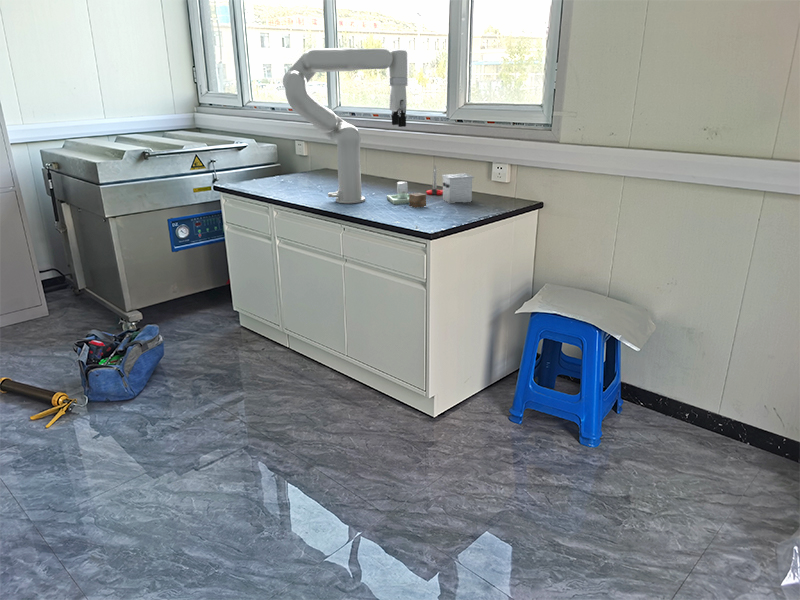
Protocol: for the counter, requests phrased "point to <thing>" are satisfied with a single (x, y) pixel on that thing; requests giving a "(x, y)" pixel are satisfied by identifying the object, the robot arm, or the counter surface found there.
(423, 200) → the walnut block
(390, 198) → the tray
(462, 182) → the control box
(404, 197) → the spacer
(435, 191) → the red base rod stand
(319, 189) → the counter surface
